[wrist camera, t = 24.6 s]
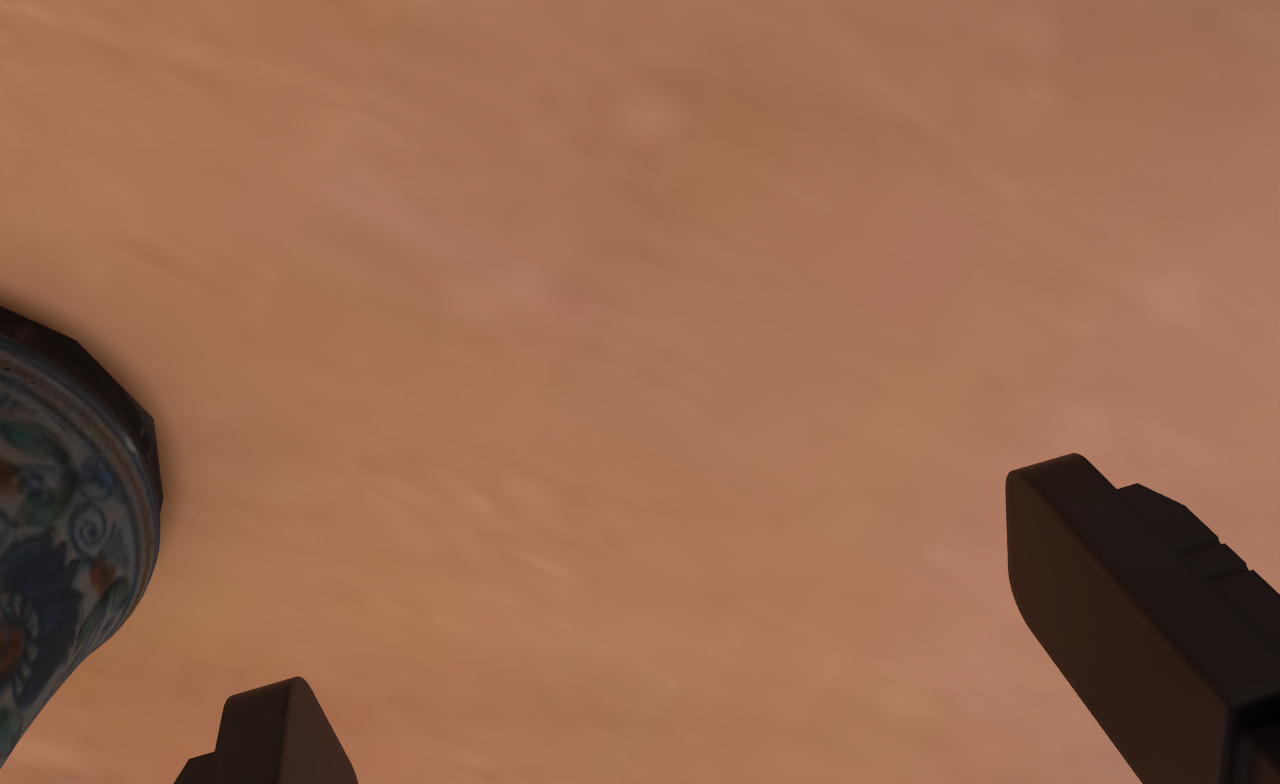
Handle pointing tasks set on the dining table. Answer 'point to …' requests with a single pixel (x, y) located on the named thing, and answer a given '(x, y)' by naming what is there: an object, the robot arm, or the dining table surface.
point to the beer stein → (66, 514)
